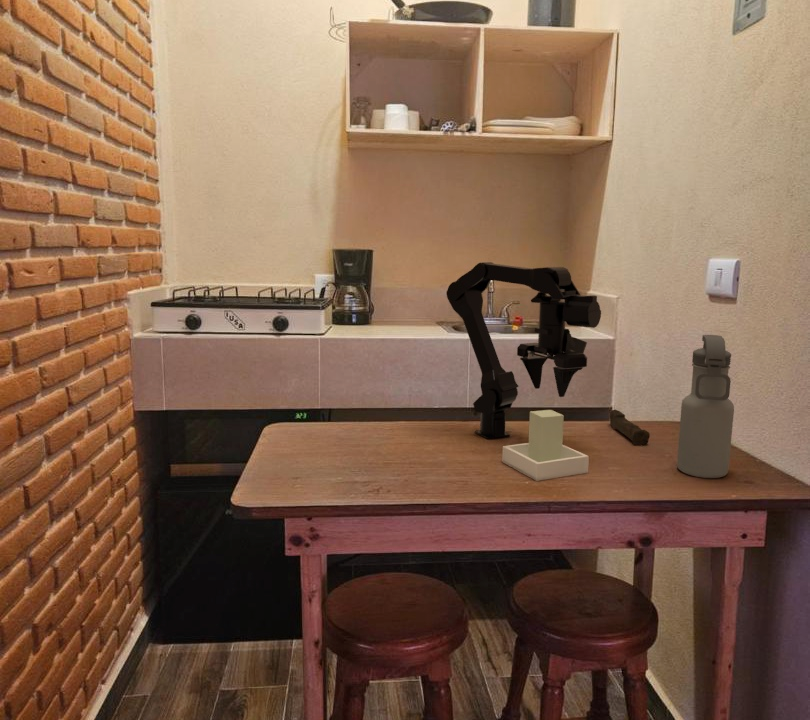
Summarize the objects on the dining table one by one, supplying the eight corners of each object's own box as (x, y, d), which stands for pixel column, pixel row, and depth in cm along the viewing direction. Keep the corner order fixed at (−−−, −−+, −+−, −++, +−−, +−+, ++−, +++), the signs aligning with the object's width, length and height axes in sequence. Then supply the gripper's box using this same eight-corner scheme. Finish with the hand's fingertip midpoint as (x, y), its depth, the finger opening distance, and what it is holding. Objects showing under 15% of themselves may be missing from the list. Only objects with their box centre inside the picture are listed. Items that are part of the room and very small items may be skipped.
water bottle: (732, 482, 132) (745, 341, 127) (678, 477, 134) (689, 339, 130) (723, 466, 141) (735, 334, 136) (674, 461, 144) (684, 332, 139)
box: (502, 462, 143) (502, 446, 143) (550, 454, 148) (551, 439, 148) (536, 481, 132) (537, 464, 131) (587, 472, 137) (588, 456, 136)
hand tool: (649, 446, 155) (651, 427, 155) (632, 446, 155) (633, 427, 155) (621, 425, 174) (622, 408, 173) (606, 425, 174) (607, 407, 173)
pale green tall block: (527, 462, 141) (529, 411, 139) (548, 459, 143) (550, 409, 141) (539, 469, 137) (542, 417, 135) (561, 467, 138) (563, 415, 136)
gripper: (609, 327, 143) (605, 398, 146) (556, 318, 160) (553, 382, 163) (566, 329, 139) (563, 402, 141) (516, 320, 156) (514, 385, 158)
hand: (549, 392), depth 151 cm, fingers open, 9 cm apart
